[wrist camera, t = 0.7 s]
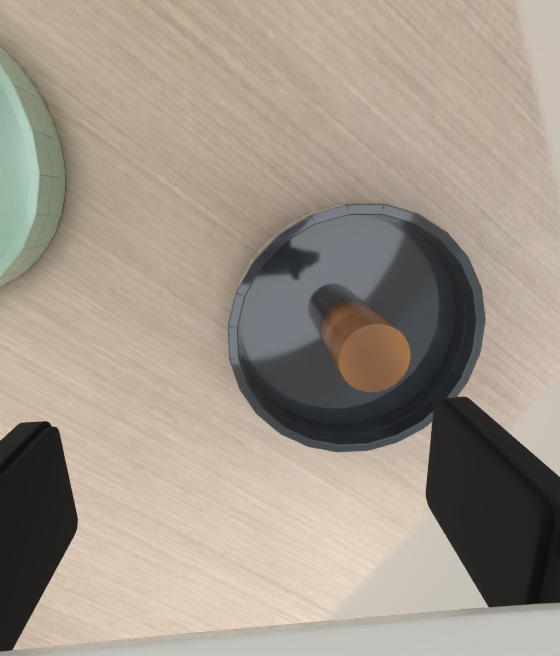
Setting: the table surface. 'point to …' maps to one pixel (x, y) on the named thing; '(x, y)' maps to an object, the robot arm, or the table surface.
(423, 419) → the slate bowl
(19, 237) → the green bowl
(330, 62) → the table surface
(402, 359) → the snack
